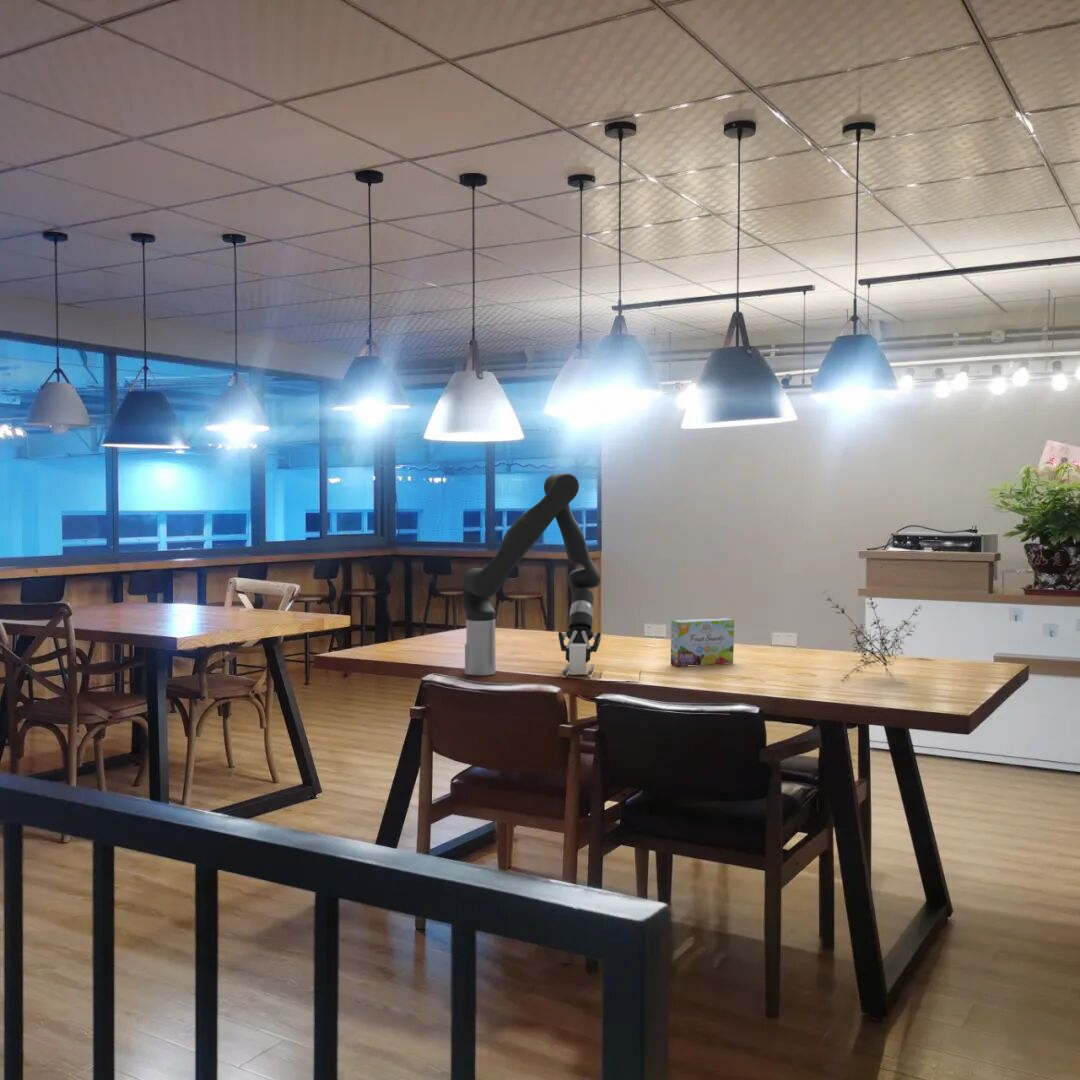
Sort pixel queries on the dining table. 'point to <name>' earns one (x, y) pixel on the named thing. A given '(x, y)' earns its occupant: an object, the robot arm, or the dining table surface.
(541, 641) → the dining table surface
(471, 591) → the robot arm
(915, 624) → the dried plant
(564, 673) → the brackets
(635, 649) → the dining table surface
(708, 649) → the snack box
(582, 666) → the block
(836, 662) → the dining table surface
